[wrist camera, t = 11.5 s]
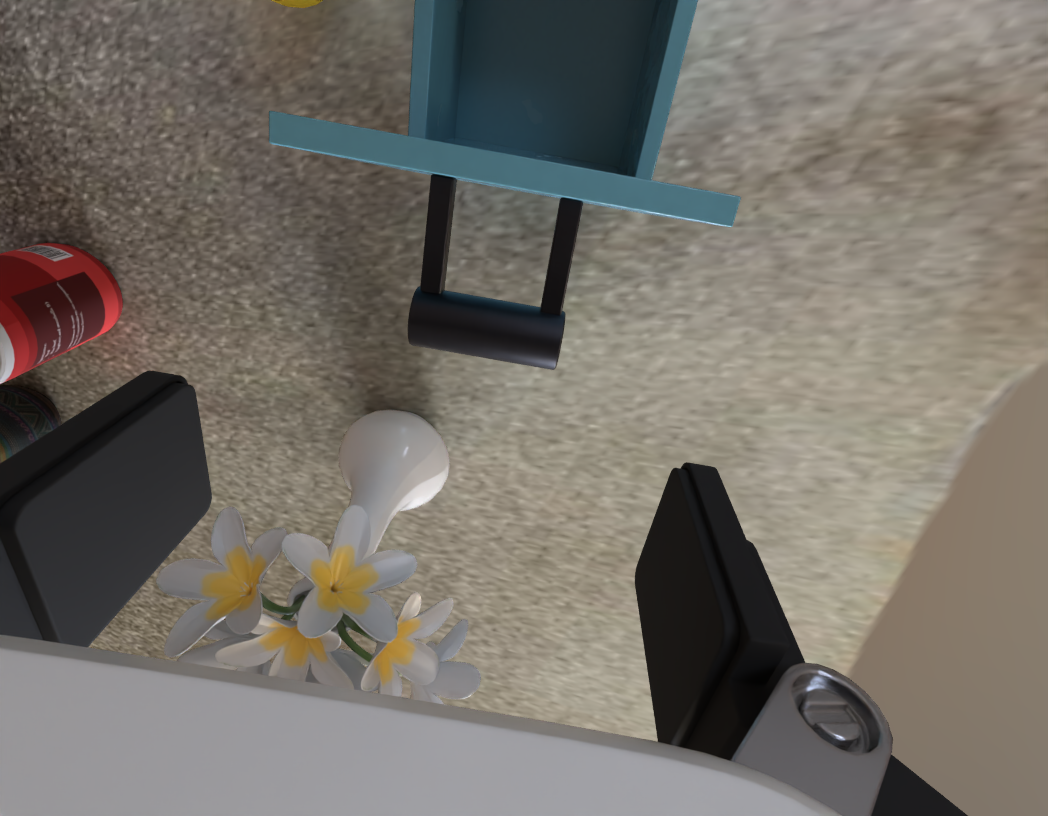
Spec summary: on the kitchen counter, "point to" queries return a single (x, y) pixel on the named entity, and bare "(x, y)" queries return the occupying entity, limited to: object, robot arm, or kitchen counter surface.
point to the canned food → (51, 304)
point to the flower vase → (331, 582)
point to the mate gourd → (23, 419)
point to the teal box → (549, 78)
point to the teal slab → (480, 319)
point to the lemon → (298, 3)
